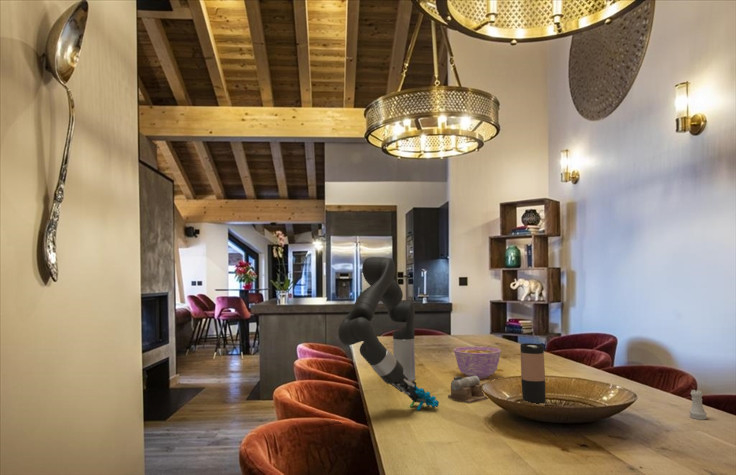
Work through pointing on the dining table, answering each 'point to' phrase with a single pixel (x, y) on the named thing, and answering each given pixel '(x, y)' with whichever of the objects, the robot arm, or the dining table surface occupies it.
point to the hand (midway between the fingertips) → (416, 398)
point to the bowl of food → (477, 360)
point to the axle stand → (466, 389)
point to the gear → (425, 399)
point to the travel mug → (533, 372)
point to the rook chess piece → (697, 406)
